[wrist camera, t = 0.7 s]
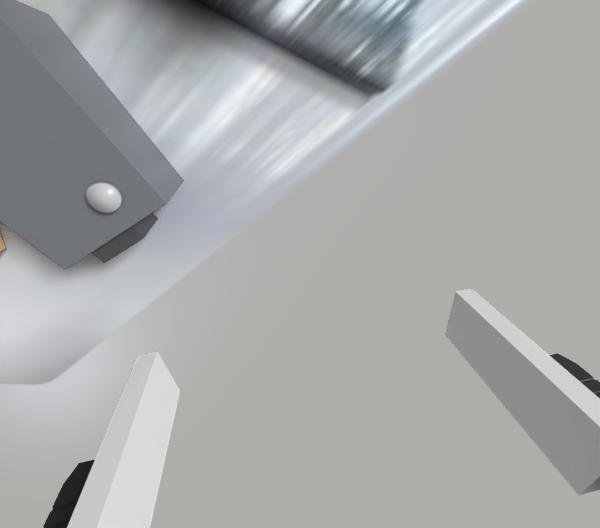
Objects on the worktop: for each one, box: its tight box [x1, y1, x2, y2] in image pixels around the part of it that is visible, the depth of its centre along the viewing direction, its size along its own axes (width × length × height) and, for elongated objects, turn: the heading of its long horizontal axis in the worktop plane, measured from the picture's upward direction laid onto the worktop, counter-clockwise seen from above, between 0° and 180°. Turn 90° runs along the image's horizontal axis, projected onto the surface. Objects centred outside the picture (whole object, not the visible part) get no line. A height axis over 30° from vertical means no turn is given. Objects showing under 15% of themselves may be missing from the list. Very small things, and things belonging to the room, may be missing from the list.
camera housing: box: [0, 0, 184, 269], centre depth 25 cm, size 18×12×9 cm
